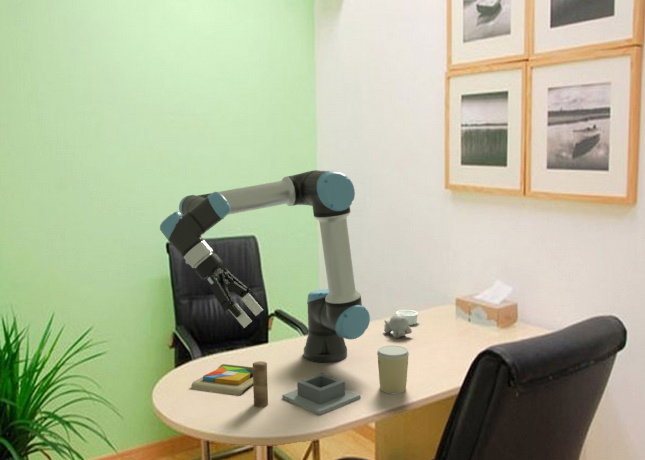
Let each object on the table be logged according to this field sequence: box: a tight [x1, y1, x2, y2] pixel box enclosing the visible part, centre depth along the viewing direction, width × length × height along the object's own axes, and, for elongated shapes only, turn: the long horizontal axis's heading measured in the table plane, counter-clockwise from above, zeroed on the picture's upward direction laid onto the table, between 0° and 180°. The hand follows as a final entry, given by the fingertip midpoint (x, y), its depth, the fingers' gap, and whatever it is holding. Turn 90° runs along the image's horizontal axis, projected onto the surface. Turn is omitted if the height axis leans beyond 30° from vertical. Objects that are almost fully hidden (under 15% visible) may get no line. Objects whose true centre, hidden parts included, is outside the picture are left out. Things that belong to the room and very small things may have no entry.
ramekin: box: [395, 309, 419, 326], centre depth 256 cm, size 9×9×4 cm
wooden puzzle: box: [191, 363, 253, 396], centre depth 197 cm, size 18×19×4 cm
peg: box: [252, 360, 269, 408], centre depth 179 cm, size 4×4×12 cm
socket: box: [281, 372, 361, 416], centre depth 183 cm, size 16×16×5 cm
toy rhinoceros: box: [383, 313, 412, 339], centre depth 240 cm, size 7×12×8 cm, turn 37°
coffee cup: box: [376, 344, 410, 395], centre depth 188 cm, size 9×9×12 cm
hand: (254, 318), depth 175 cm, fingers open, 13 cm apart
